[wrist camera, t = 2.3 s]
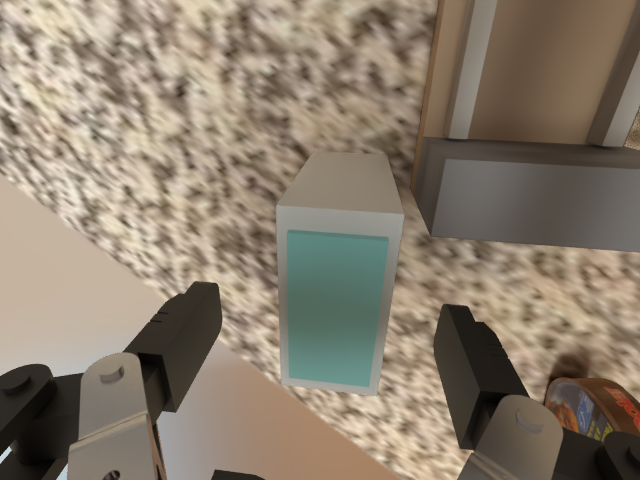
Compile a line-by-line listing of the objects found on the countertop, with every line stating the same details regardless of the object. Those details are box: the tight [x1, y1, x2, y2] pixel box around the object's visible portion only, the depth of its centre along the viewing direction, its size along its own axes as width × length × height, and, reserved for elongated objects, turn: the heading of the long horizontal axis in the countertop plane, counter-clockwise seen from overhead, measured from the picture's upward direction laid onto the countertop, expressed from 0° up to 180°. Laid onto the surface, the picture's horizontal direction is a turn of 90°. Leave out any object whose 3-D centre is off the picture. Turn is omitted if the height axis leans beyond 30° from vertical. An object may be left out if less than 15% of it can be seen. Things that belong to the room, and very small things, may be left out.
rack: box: [410, 0, 640, 252], centre depth 12 cm, size 9×16×6 cm, turn 178°
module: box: [276, 151, 405, 396], centre depth 16 cm, size 4×8×9 cm, turn 178°
